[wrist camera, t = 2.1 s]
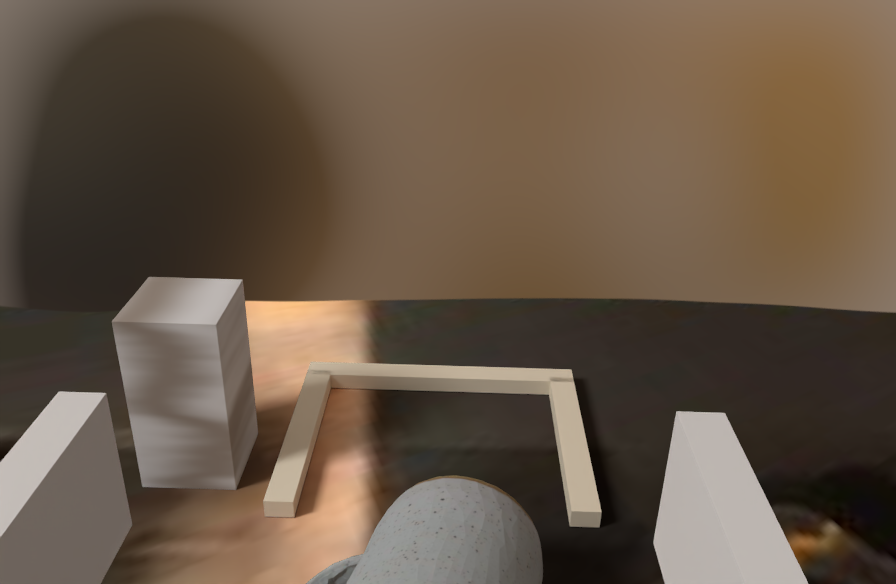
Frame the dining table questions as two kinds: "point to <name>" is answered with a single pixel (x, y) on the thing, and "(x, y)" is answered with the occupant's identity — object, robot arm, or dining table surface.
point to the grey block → (188, 381)
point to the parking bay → (436, 378)
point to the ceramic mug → (447, 539)
